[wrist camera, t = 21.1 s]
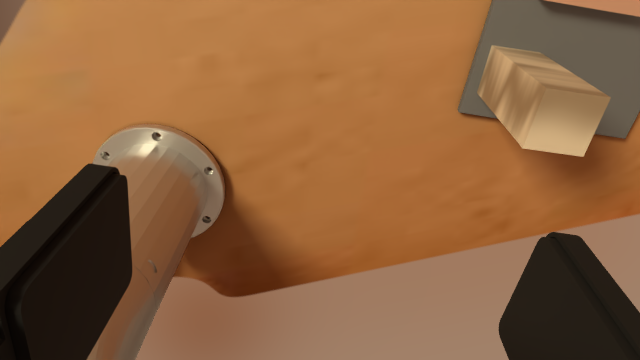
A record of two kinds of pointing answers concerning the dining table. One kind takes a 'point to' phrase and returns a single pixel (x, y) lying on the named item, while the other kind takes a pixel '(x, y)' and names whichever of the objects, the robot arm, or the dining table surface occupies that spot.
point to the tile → (607, 5)
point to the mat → (567, 53)
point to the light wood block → (541, 101)
